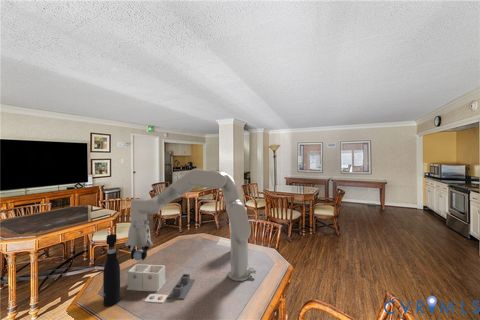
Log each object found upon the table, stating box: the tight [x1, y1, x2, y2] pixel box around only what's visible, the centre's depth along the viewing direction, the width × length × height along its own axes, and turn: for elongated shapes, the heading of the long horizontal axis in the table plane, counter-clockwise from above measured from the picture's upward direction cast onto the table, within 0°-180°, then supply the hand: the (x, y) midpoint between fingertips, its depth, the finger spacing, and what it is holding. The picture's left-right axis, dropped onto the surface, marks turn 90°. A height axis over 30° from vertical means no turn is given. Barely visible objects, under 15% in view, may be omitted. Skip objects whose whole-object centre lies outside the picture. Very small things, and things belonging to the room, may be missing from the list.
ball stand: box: [166, 273, 196, 300], centre depth 101 cm, size 8×15×4 cm, turn 174°
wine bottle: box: [102, 233, 121, 308], centre depth 92 cm, size 6×6×30 cm
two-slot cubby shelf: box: [126, 263, 167, 293], centre depth 104 cm, size 16×8×9 cm, turn 84°
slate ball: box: [133, 249, 143, 261], centre depth 105 cm, size 5×5×5 cm
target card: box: [143, 293, 169, 304], centre depth 94 cm, size 9×5×1 cm, turn 84°
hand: (138, 258), depth 105 cm, fingers closed on slate ball, 4 cm apart
